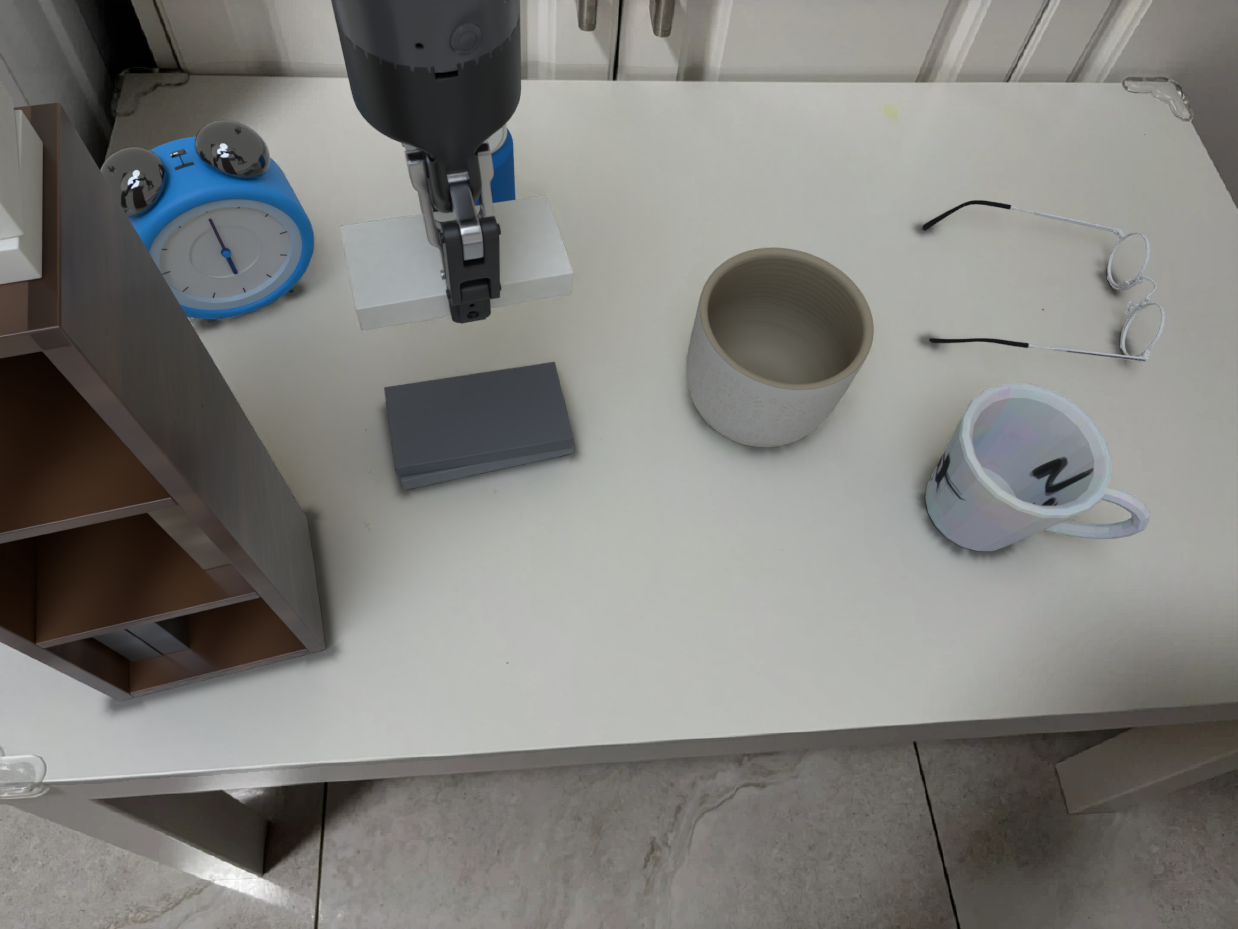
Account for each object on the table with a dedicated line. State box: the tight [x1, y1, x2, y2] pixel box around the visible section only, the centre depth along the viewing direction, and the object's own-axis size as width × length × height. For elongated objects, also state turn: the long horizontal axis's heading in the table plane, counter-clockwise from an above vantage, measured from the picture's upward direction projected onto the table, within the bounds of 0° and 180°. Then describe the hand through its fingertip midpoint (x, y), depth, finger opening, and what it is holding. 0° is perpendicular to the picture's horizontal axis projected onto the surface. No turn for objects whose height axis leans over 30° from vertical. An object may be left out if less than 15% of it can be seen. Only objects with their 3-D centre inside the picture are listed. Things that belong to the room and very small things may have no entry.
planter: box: [685, 247, 875, 448], centre depth 65 cm, size 12×12×11 cm
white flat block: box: [339, 194, 574, 332], centre depth 49 cm, size 12×6×2 cm, turn 106°
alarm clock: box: [99, 119, 315, 324], centre depth 64 cm, size 13×6×15 cm, turn 120°
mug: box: [925, 382, 1152, 552], centre depth 62 cm, size 10×15×10 cm
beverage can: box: [475, 123, 517, 206], centre depth 70 cm, size 6×6×12 cm
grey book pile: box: [383, 361, 575, 491], centre depth 65 cm, size 13×8×3 cm, turn 106°
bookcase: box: [0, 101, 327, 702], centre depth 43 cm, size 13×10×36 cm
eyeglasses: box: [922, 199, 1166, 363], centre depth 75 cm, size 16×19×5 cm
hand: (459, 270), depth 50 cm, fingers closed on white flat block, 6 cm apart
